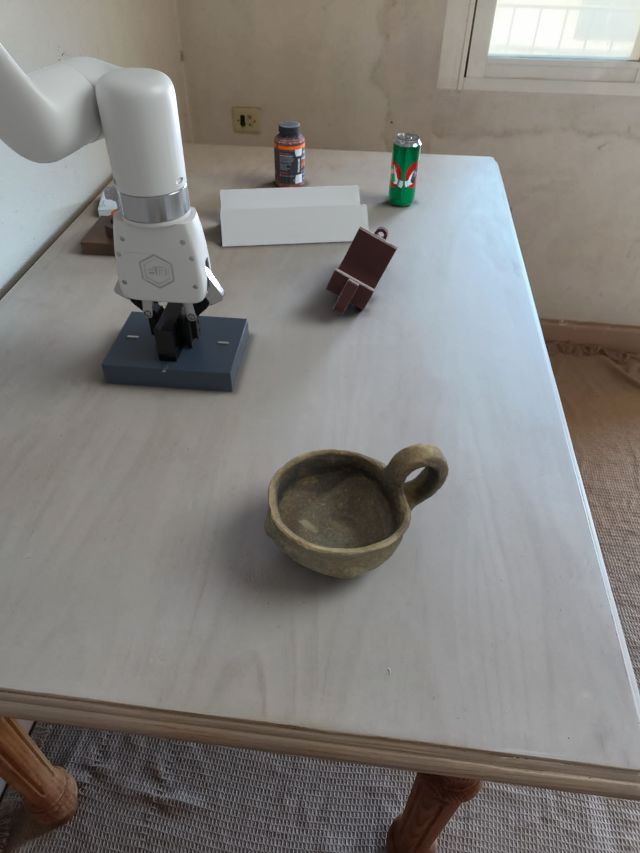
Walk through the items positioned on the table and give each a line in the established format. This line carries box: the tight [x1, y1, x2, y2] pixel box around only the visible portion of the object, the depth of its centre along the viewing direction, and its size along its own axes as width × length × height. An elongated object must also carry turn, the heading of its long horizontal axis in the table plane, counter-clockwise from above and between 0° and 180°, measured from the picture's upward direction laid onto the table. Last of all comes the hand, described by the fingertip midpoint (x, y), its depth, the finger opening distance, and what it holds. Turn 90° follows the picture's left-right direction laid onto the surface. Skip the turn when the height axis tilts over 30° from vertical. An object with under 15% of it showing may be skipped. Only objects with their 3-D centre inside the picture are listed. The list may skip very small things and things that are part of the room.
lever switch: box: [100, 311, 250, 393], centre depth 81 cm, size 16×13×3 cm
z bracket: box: [219, 184, 370, 248], centre depth 109 cm, size 12×25×6 cm
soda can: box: [387, 132, 422, 208], centre depth 115 cm, size 5×5×12 cm
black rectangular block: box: [154, 302, 186, 362], centre depth 79 cm, size 9×2×5 cm, turn 174°
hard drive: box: [97, 191, 117, 218], centre depth 116 cm, size 2×8×12 cm
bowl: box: [264, 442, 449, 580], centre depth 59 cm, size 14×18×10 cm
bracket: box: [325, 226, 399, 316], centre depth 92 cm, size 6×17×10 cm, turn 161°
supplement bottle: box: [273, 120, 306, 188], centre depth 121 cm, size 6×6×11 cm
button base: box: [79, 215, 115, 257], centre depth 105 cm, size 12×10×4 cm
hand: (177, 339), depth 80 cm, fingers open, 3 cm apart
